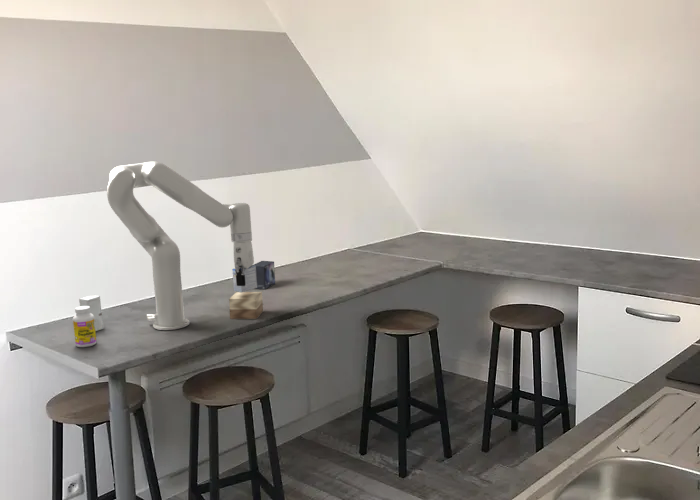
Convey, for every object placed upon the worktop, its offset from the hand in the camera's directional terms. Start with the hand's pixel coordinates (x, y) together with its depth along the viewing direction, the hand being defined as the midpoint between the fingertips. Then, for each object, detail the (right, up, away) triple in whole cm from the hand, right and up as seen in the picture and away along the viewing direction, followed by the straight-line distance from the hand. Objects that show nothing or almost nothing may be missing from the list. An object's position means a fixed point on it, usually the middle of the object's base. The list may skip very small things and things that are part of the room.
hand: (244, 282), depth 264 cm
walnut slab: (0, -13, +2) cm, 13 cm away
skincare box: (-53, -17, -10) cm, 56 cm away
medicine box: (0, -3, +1) cm, 3 cm away
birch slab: (0, -9, +2) cm, 9 cm away
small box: (+2, -4, +46) cm, 46 cm away
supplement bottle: (-49, -20, -26) cm, 59 cm away
